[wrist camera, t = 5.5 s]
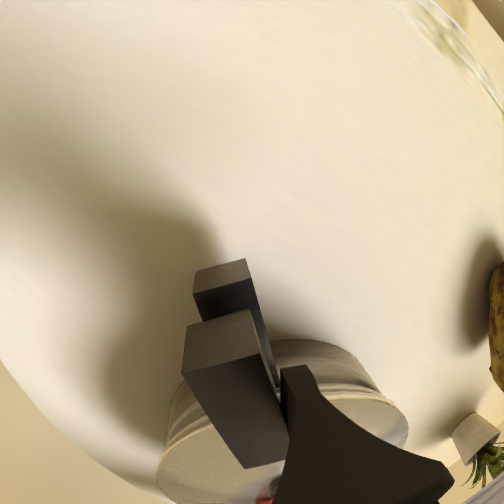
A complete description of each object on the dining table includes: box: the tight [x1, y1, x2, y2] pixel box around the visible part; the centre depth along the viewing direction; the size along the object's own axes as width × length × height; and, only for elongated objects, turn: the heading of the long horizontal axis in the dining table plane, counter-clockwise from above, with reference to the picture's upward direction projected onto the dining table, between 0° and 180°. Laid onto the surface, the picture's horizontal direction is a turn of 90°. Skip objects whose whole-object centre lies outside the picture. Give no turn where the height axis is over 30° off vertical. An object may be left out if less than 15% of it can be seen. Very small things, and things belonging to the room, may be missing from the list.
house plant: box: [451, 412, 504, 489], centre depth 20 cm, size 14×14×16 cm
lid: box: [157, 309, 409, 504], centre depth 13 cm, size 22×17×3 cm
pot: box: [165, 258, 386, 448], centre depth 16 cm, size 22×16×5 cm
